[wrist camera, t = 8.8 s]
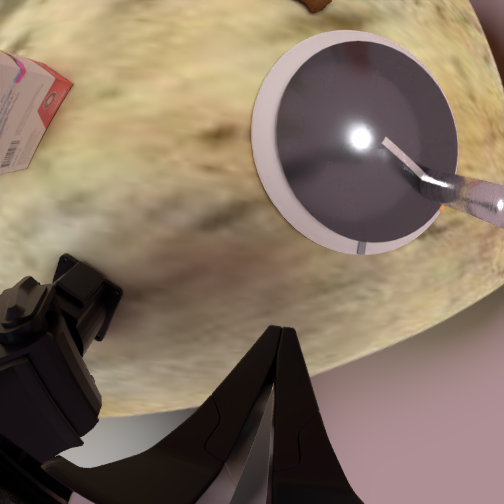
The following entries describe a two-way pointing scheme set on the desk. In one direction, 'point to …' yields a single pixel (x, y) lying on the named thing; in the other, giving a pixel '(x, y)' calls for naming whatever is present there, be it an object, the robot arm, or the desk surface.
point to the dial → (374, 145)
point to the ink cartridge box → (25, 107)
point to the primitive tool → (316, 4)
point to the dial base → (268, 156)
